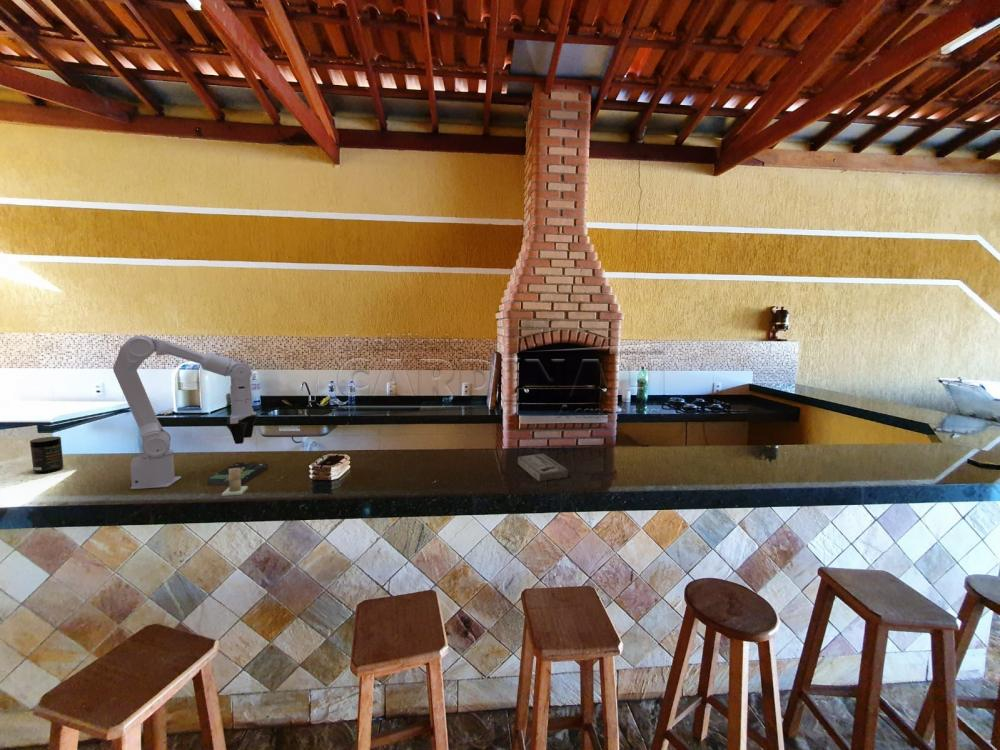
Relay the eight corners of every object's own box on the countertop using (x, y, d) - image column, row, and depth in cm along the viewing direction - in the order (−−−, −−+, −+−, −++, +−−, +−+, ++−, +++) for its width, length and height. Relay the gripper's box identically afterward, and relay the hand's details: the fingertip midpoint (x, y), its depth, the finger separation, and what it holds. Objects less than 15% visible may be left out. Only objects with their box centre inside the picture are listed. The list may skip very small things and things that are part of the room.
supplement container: (70, 467, 137) (67, 436, 136) (50, 474, 131) (46, 441, 130) (47, 467, 137) (44, 436, 136) (26, 474, 130) (22, 442, 129)
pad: (221, 495, 116) (221, 493, 116) (228, 489, 121) (228, 487, 121) (241, 494, 117) (241, 492, 117) (248, 487, 122) (247, 485, 122)
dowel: (227, 491, 117) (227, 471, 117) (231, 488, 120) (230, 468, 120) (239, 491, 118) (238, 470, 118) (242, 487, 121) (241, 467, 120)
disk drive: (236, 470, 139) (206, 486, 124) (236, 462, 138) (206, 477, 123) (268, 470, 139) (241, 487, 124) (267, 462, 139) (241, 478, 124)
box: (543, 460, 151) (543, 452, 151) (568, 478, 135) (568, 468, 135) (516, 464, 147) (516, 456, 147) (539, 483, 131) (539, 473, 131)
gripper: (247, 403, 129) (249, 445, 131) (262, 395, 143) (264, 434, 145) (221, 403, 127) (224, 446, 129) (239, 396, 141) (241, 435, 143)
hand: (243, 440), depth 137 cm, fingers open, 7 cm apart
